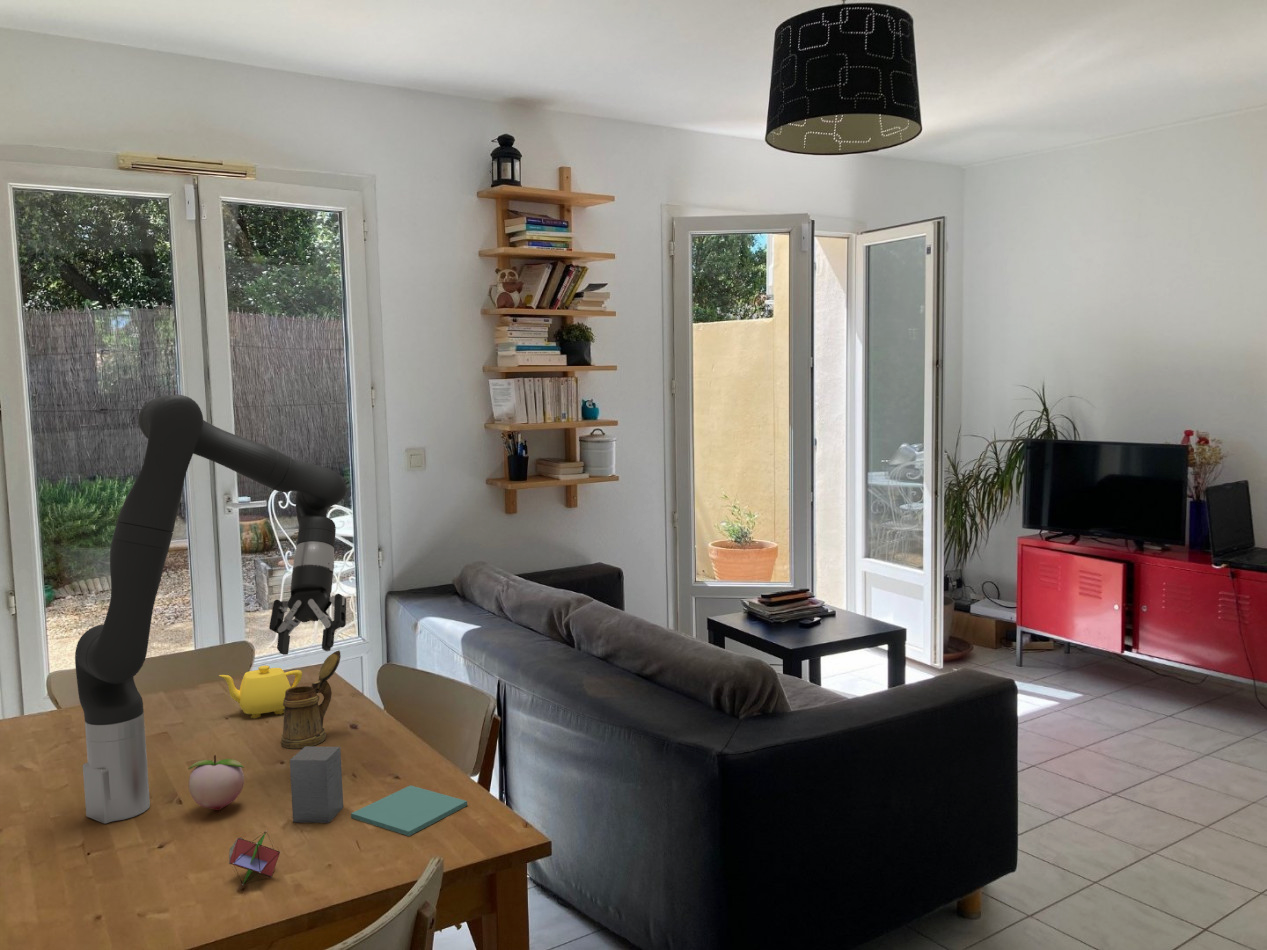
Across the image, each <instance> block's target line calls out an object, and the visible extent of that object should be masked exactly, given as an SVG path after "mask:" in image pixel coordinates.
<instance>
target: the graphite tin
mask: <svg viewBox="0 0 1267 950" xmlns="http://www.w3.org/2000/svg"><path fill="white" fill-rule="evenodd" d="M341 752H342V751H341V746H311V747H307V746H305V747H304V748H301V749H300V751H298V752H297V753H296V754H295V755H293V757H291V758H290V759H289V771H290V773H289V774H290V775H289V776H290V789H291V791H290V793H291V794H290V795H291V806H292V808H291V810H292V823H303V824H304V823H305V824H307V823H309V824H311V823H314V824H316V823H317V824H318V823H319V824H330V823H331V821H333V820H334V819H335V817H336V816H337V815H338V814H339V813H340V812H341V811H342V810H343V808H344V792H343V774H342V773H343V772H342V770H343V769H342V757H341V756H342V755H341V754H342V753H341Z"/></svg>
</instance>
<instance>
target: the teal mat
mask: <svg viewBox="0 0 1267 950" xmlns="http://www.w3.org/2000/svg"><path fill="white" fill-rule="evenodd" d="M467 806H468V801H467V800H465V799H462V798H457V797H454V796H450V795H447V794H443V793H439V792H436V791H433V790H429V789H424V788H422V787H418V786H415V785H408V786H406V787H403V788H402V789H399V790H398V791H395V792H393V793H392V794H389V795H387V796H385V797H383V798H381V799H379V800H376V801H374V802H372V803H370V804H368V805H365V806H363V807H361V808H359V809H357V810H355V811H352V812H351V813H350V817H351V818H350V819H354V820H357V821H361V822H363V823H366V824H369V825H372V826H376V827H379V828H382V829H385V830H388V831H391V832H395V833H398V834H401V835H404V836H407V837H411V836H413V835H414V834H416V833H418V832H420V831H422V830H424V829H425V828H428V827H429V826H431V825H433V824H435V823H437V822H438V821H440V820H442V819H444V818H446V817H448V816H450V815H452V814H454V813H456V812H459V810H462V809H464V808H465V807H467Z"/></svg>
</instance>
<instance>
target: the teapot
mask: <svg viewBox="0 0 1267 950" xmlns="http://www.w3.org/2000/svg"><path fill="white" fill-rule="evenodd" d="M257 668H258V669H256V670H254V669H253V670H250V671H246V672H245V673H244V675H243V677H242V680H241V682H240V686H239V687H240V688H239V689H237V687H236V686H235V681H234V679H233V677H231V676H230V675H228V674H219V675H218V676H219V677H221V678H222V679H224V680H225V682H226V683H227V686H228V691H229V695H230V697H231V699H233V700H234V701H235V702H237V703H238V704H239V707H240V709H241V711H242V712H243V713H244V714H247V715H251V716H250V718H251V719H258V718H257V717H259V718H260V716H261V715H262V714H268V713H272V712H274V715H276V714H280V715H283V714H282V713H284V709H285V707H284V706H283V701H284V698H285V692H286V690H287V689H289V688H293V687H298V685H299V683H300V682H301V680H302V677H303V671H302V670H300V669H294V670H290V671H286V672H285V671H284V669H282V668H281V667H271V668H270V665H261V666H258V667H257ZM288 676H294V677H295V678H294V680H293V683H292V685H290V681H289V679H288Z"/></svg>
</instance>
